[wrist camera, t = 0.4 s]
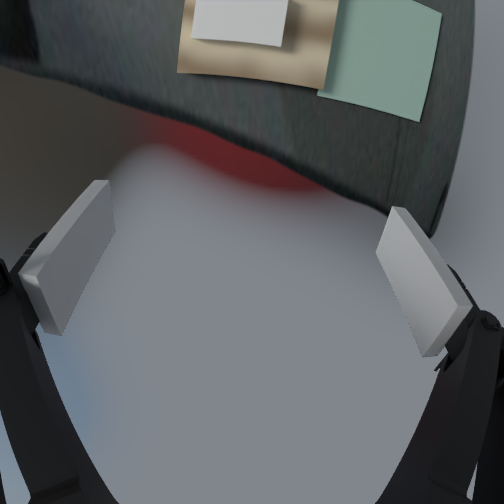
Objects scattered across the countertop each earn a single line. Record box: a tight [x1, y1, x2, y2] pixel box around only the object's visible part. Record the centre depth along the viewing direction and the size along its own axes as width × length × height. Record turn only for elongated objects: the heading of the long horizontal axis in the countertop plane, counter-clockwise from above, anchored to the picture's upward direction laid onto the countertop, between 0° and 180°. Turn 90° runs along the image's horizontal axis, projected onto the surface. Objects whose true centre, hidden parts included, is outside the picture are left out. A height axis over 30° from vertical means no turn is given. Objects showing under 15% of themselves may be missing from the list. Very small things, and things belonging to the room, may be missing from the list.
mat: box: [317, 0, 442, 122], centre depth 30 cm, size 16×14×1 cm
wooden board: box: [177, 0, 339, 90], centre depth 28 cm, size 14×16×2 cm
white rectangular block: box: [191, 0, 288, 47], centre depth 26 cm, size 9×6×2 cm, turn 83°
